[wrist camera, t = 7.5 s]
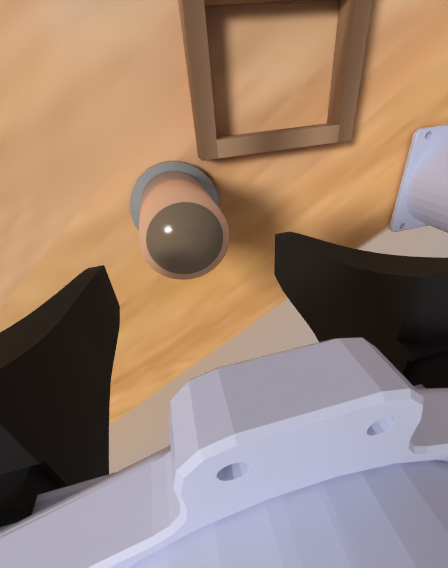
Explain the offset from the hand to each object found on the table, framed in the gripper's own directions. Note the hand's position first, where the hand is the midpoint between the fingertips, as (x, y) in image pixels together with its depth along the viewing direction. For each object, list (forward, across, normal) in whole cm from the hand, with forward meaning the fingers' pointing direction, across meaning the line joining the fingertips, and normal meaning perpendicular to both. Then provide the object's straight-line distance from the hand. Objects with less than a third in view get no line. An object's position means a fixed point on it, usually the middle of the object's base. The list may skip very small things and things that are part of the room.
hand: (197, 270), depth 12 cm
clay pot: (+9, 0, 0) cm, 9 cm away
